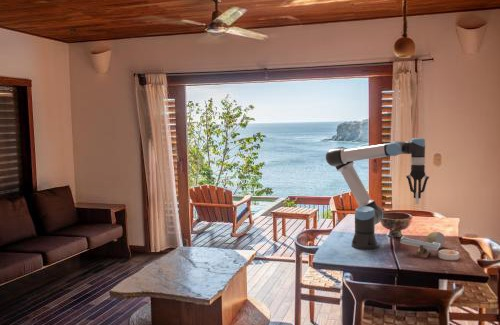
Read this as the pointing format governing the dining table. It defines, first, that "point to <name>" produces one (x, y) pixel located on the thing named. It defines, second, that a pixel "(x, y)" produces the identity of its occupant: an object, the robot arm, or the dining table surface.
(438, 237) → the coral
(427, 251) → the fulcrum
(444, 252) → the bowl
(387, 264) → the dining table surface
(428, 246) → the lever
